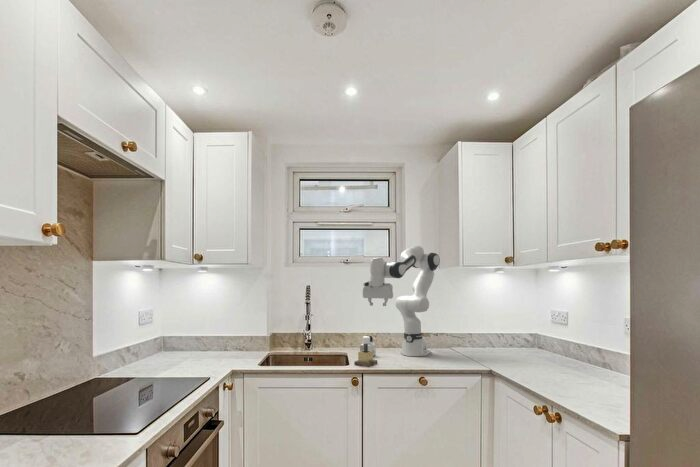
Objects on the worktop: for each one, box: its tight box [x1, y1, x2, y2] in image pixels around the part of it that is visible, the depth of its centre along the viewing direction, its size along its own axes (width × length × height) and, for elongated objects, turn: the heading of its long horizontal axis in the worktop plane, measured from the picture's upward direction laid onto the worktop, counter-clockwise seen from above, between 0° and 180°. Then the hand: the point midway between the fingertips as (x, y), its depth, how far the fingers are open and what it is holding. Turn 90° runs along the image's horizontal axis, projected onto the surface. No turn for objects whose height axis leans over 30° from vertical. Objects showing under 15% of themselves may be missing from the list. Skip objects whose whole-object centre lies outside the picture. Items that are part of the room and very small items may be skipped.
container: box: [359, 335, 377, 357], centre depth 270 cm, size 8×8×13 cm
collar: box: [357, 350, 374, 362], centre depth 245 cm, size 6×6×5 cm
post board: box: [353, 343, 378, 367], centre depth 245 cm, size 10×10×12 cm
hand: (377, 305), depth 253 cm, fingers open, 8 cm apart
